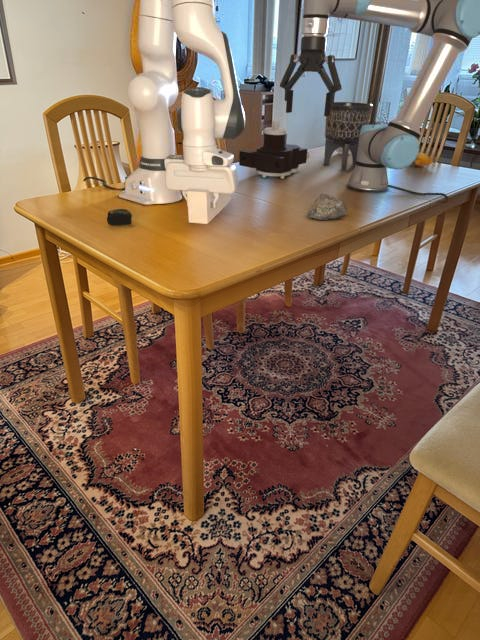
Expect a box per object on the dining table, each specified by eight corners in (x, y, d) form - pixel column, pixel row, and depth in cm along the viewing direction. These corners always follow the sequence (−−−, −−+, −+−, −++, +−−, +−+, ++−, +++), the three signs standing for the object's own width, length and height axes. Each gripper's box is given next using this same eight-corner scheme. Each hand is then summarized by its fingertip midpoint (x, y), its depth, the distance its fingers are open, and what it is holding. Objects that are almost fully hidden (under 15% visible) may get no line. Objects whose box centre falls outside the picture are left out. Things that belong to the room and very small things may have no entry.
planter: (313, 167, 208) (319, 103, 195) (331, 160, 222) (338, 101, 209) (353, 173, 199) (362, 107, 185) (369, 166, 213) (379, 104, 199)
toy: (408, 159, 210) (402, 152, 223) (410, 173, 213) (404, 165, 225) (433, 152, 207) (426, 145, 219) (435, 165, 210) (428, 158, 222)
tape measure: (107, 228, 130) (105, 215, 128) (109, 220, 136) (108, 208, 134) (131, 227, 131) (130, 214, 129) (133, 220, 137) (131, 207, 135)
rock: (331, 208, 151) (334, 189, 147) (352, 215, 145) (356, 195, 142) (304, 216, 143) (306, 195, 140) (325, 223, 137) (328, 202, 134)
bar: (215, 198, 148) (214, 171, 144) (231, 199, 147) (231, 172, 143) (188, 222, 127) (186, 191, 123) (207, 223, 126) (206, 192, 122)
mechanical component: (240, 120, 182) (283, 115, 202) (239, 174, 192) (280, 164, 212) (283, 126, 170) (325, 120, 190) (280, 183, 180) (320, 171, 200)
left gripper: (159, 156, 121) (163, 207, 128) (233, 159, 116) (233, 212, 123) (168, 152, 126) (172, 201, 133) (239, 155, 122) (239, 206, 129)
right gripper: (271, 35, 138) (268, 112, 148) (348, 35, 126) (338, 118, 136) (283, 36, 143) (279, 110, 154) (358, 36, 131) (348, 116, 142)
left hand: (202, 207), depth 128 cm, fingers closed on bar, 5 cm apart
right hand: (307, 114), depth 145 cm, fingers open, 13 cm apart
